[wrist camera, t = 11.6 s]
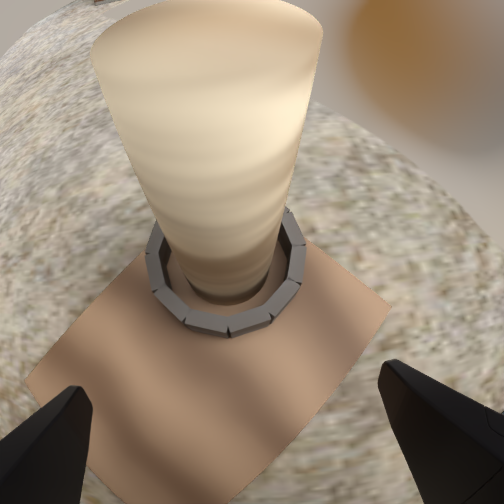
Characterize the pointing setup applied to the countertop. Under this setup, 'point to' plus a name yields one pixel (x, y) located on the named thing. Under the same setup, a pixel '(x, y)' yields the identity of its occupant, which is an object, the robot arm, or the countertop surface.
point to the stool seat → (207, 369)
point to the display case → (103, 1)
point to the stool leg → (213, 127)
